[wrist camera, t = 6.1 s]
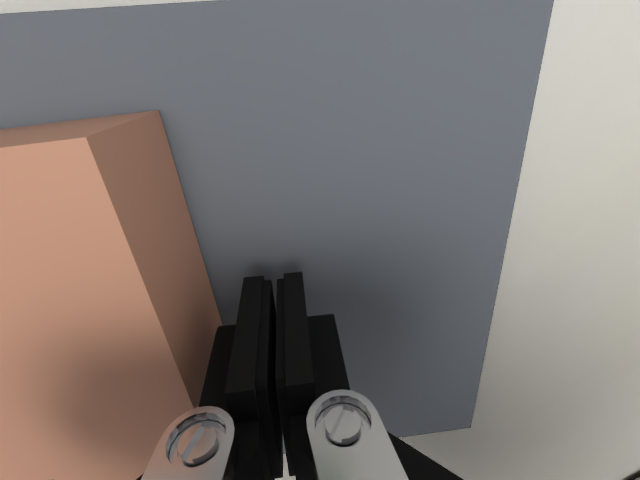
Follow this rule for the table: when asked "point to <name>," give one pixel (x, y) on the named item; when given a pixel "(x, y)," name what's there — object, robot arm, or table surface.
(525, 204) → the table surface
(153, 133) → the tee
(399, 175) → the mat
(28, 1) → the table surface
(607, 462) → the table surface
